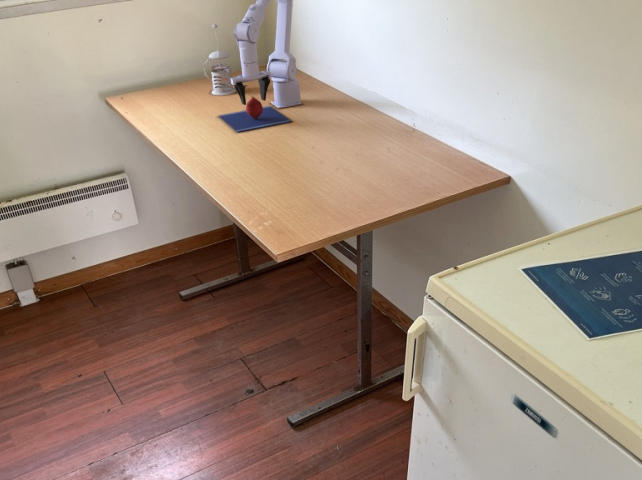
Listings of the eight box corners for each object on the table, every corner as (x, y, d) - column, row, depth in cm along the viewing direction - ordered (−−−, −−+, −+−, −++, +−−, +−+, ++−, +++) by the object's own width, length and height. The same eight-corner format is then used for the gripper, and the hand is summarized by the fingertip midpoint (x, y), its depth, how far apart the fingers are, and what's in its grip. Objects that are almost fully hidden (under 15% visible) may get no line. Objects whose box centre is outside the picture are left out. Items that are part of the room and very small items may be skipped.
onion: (264, 116, 237) (262, 93, 233) (262, 121, 233) (260, 98, 228) (248, 116, 238) (245, 93, 233) (246, 121, 233) (243, 98, 228)
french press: (234, 94, 261) (225, 26, 246) (204, 95, 261) (194, 27, 246) (237, 87, 268) (229, 20, 254) (209, 88, 269) (199, 21, 254)
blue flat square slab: (269, 107, 247) (269, 105, 247) (291, 122, 232) (291, 120, 232) (218, 116, 240) (218, 115, 240) (238, 132, 225) (237, 131, 225)
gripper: (263, 55, 229) (267, 95, 237) (224, 62, 223) (230, 103, 232) (272, 59, 224) (276, 100, 233) (233, 67, 219) (238, 108, 227)
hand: (253, 102), depth 232 cm, fingers open, 7 cm apart
